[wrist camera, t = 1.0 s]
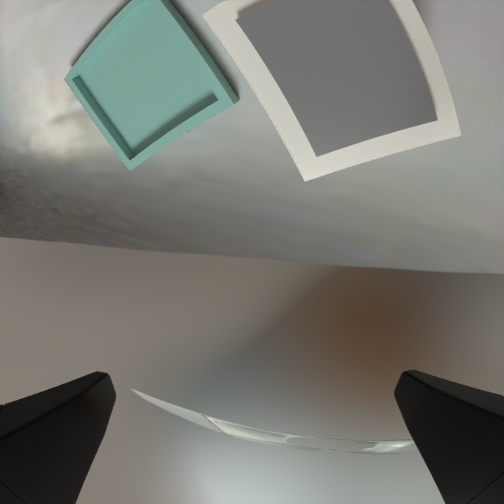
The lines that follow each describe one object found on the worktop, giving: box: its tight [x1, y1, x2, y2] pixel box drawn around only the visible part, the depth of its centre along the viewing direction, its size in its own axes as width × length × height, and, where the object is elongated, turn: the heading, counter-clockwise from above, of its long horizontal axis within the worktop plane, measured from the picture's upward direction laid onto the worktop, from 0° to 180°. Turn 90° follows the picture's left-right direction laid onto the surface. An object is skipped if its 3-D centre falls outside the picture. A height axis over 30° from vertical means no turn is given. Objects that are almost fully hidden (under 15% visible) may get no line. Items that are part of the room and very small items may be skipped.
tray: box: [64, 0, 239, 171], centre depth 15 cm, size 10×10×1 cm
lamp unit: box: [202, 0, 461, 181], centre depth 10 cm, size 7×8×7 cm
